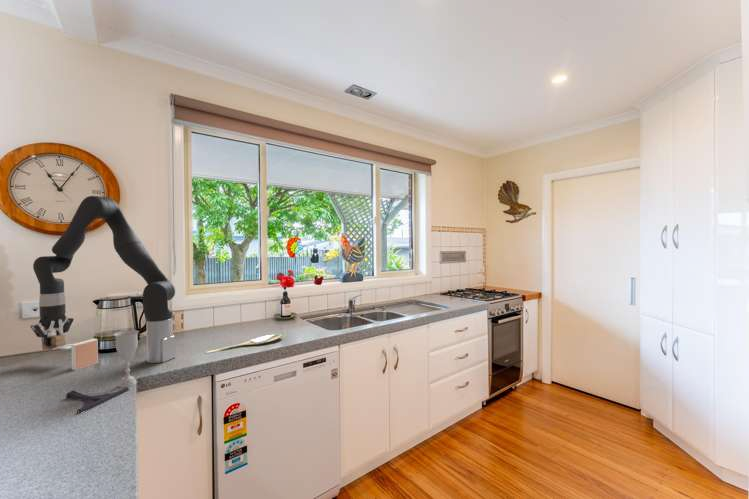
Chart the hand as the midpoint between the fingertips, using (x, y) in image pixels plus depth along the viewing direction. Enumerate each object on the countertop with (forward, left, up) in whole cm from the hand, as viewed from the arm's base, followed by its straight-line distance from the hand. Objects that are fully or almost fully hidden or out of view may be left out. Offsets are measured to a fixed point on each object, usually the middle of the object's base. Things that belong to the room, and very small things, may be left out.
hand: (53, 345), depth 129 cm
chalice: (-51, +10, -8) cm, 53 cm away
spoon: (-66, -36, -8) cm, 75 cm away
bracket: (-49, +21, -9) cm, 54 cm away
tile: (-17, 0, -8) cm, 19 cm away
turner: (-4, 0, -1) cm, 4 cm away
